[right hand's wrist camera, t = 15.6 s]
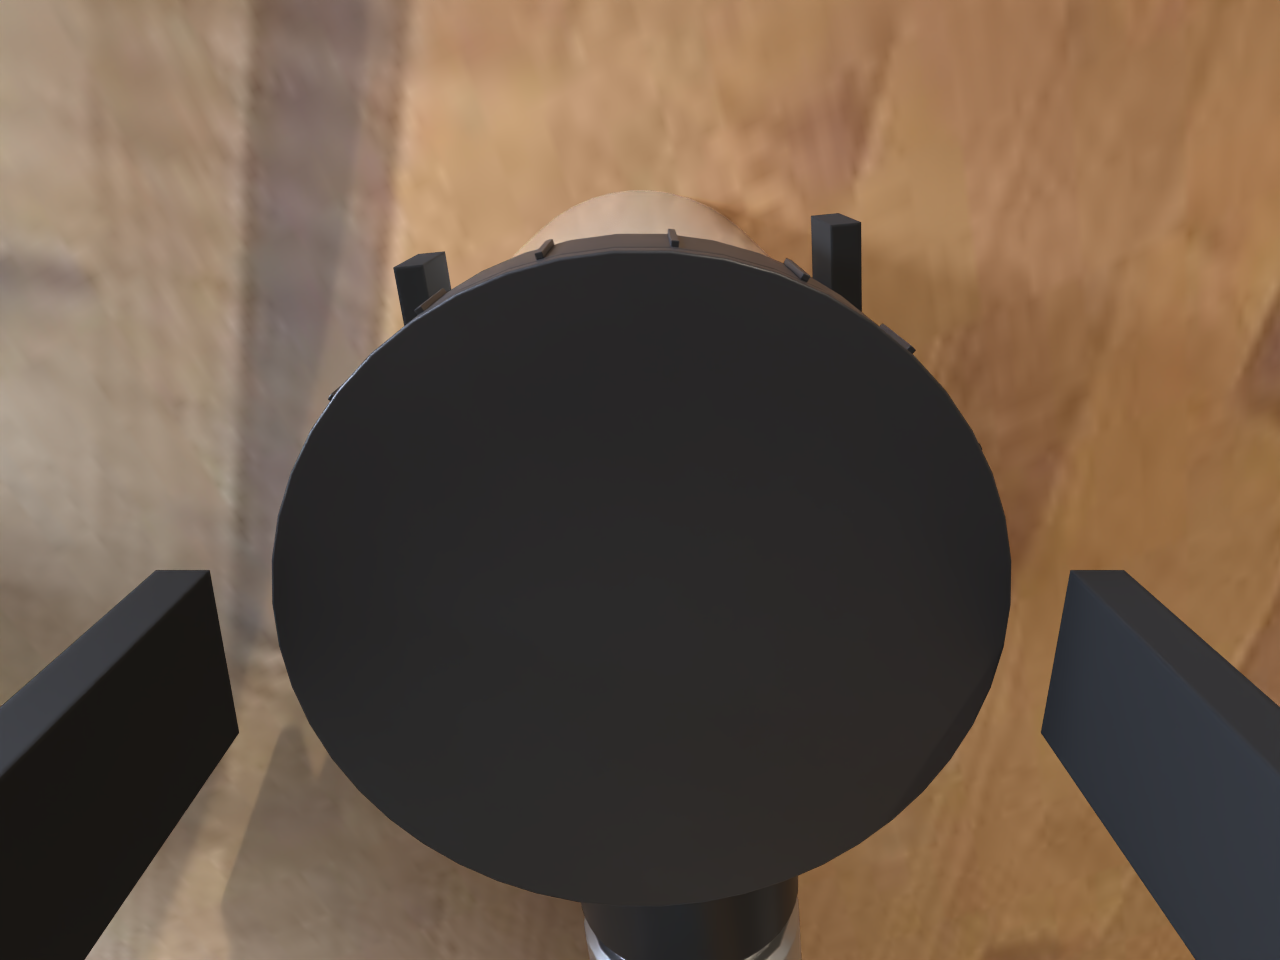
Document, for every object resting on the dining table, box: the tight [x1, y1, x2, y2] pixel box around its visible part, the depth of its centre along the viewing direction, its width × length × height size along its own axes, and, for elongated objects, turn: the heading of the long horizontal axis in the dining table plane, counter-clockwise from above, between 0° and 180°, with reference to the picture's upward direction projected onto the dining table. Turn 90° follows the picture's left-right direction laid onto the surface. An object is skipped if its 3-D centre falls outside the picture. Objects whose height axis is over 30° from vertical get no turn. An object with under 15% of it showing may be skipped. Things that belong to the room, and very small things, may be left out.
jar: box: [510, 190, 771, 259], centre depth 23 cm, size 10×10×19 cm
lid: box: [272, 229, 1011, 906], centre depth 14 cm, size 11×11×2 cm
